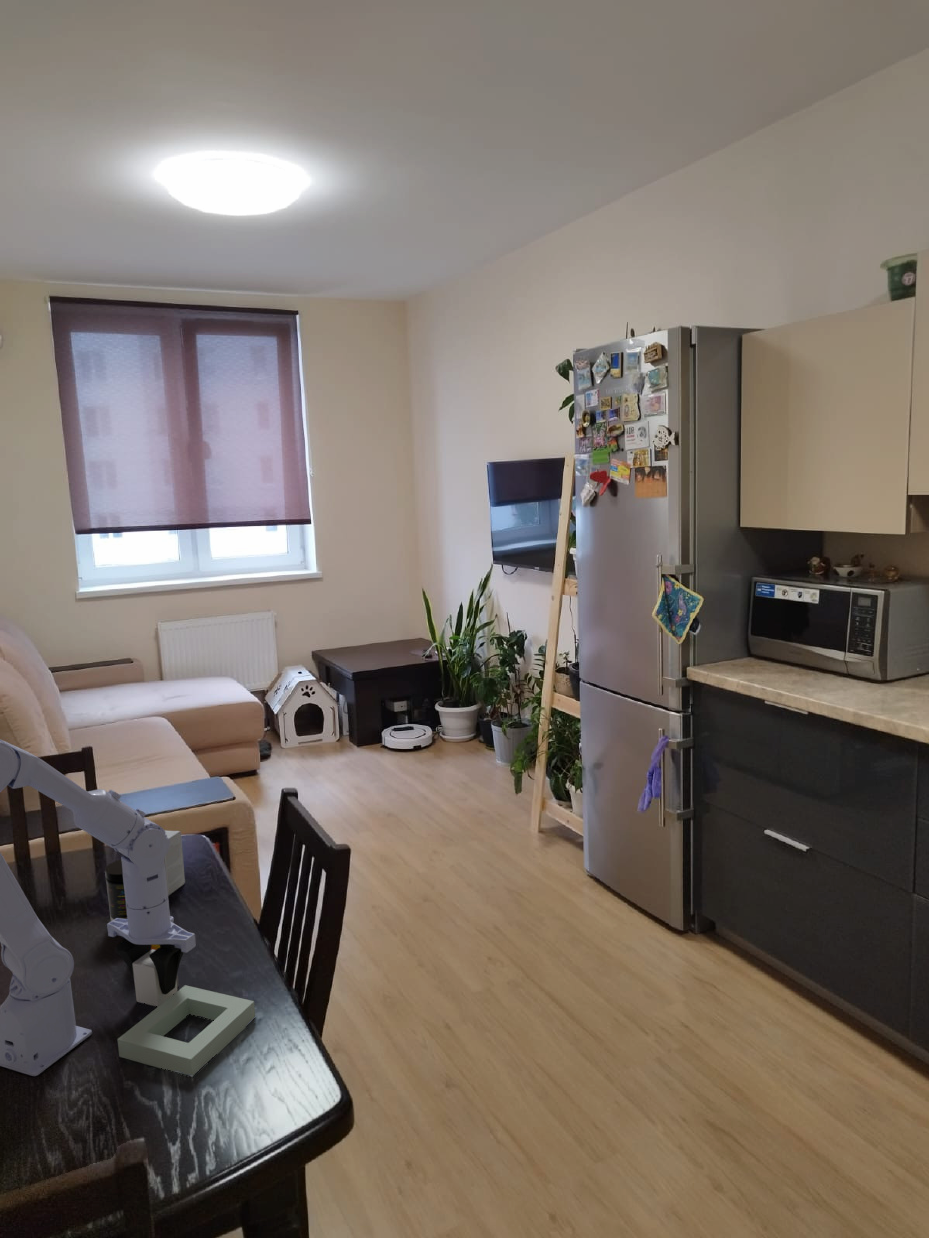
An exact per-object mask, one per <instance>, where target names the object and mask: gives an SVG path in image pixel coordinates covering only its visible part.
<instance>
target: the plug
mask: <svg viewBox="0 0 929 1238" xmlns="http://www.w3.org/2000/svg"><path fill="white" fill-rule="evenodd" d="M154 951H155V950H154V949H152V950H150V951H149V952H148V953H146V954H145V955H143V956H142V957H141V958H139V959H138V960H136V961H135V962H133V963H132V964H133V973H134V978H133V980H134V982H133V983H134V990H135V997H136V1002H138V1003H140V1004H144V1003H145V1005H149V1006H151V1007H152V1006H153V1007H156V1006H157V1007H158V1006H160V1005H161V1004H162V1003H164V1002H165V1001H166V1000H167V999H169V998H170V997H171V996H172V995H173V994H175V993H176V992H177V991H178V987H180V983H179V974H178V972H177V978H176V984H175V988H174V989H173V990H171V991H170V992H169V993H167V994H166V995H165V994H162V992H161V989H160V985H159V979H158V974H157V970H156V968H155V965H154V963H153V961H152V960H151V958H150V956H149V955H150V954H151V953H152V952H154ZM157 1007H156V1008H157Z"/></svg>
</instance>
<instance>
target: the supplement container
mask: <svg viewBox="0 0 929 1238" xmlns="http://www.w3.org/2000/svg"><path fill="white" fill-rule="evenodd" d="M104 873H105V874H104V875H105V881H106V890H107V891H106V892H107V900H108V906H109V907H108V908H109V916H110V922H111V921H113V920H114V919H116V918H121V919H127V909H126V900H125V891H124V882H123V870H122V861H121V858H120V859H117V860H114V861H113V862H110V863H109V864H107V866H106V867H105V868H104Z"/></svg>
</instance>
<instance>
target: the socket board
mask: <svg viewBox="0 0 929 1238" xmlns="http://www.w3.org/2000/svg"><path fill="white" fill-rule="evenodd" d="M189 1014H191V1015H190V1016H193V1015H195V1016H194V1017H197V1016H203V1017H205V1018H208V1019H207V1020H209V1019H211V1020H210V1021H212V1022H211V1023H209V1024H208V1025H207V1026H206V1027H205V1028H204V1029H203V1030H202V1031H201V1032H199V1033H198V1034H196V1036H195V1037H193V1038H192V1039H191V1040H190V1041H189V1042H186V1041H182V1040H178V1039H174V1038H171V1037H167V1036H165V1035H166V1034H168V1033H169V1032H170V1031H171V1030H173V1028H175V1027H176V1026H177V1025H178V1024H180V1023H181V1022H182V1021H183V1020H184V1019H186V1018H187V1017H188V1016H189ZM187 1015H188V1016H187ZM186 1016H187V1017H186ZM255 1016H256V1006H255V1001H254V1000H250V999H246V998H241V997H238V996H234V995H230V994H229V995H228V994H224V993H220V992H216V991H211V990H208V989H207V990H206V989H203V988H199V987H195V986H190V985H186V984H185V985H183V986H182V987H181V988H180V989H179V990H177V992H176V993H175V994H174V995H172V996H171V997H170V998H169V999H167V1000H166V1001H165V1002H164V1003H162V1004H161V1005H160V1006H158V1007H156V1008H155V1009H154V1010H152V1011H151V1012H149V1014H147V1015H145V1017H144V1018H142V1019H141V1020H140V1021H139V1022H137V1023H136V1024H134V1026H132V1027H131V1028H130V1029H129V1030H127V1031H126V1032H125V1033H123V1034H122V1035H120V1037H118V1038H117V1040H116V1041H117V1047H118V1056H119V1057H120V1058H123V1059H126V1060H130V1061H133V1062H137V1063H140V1064H144V1065H147V1066H151V1067H155V1068H158V1069H161V1068H162V1069H161V1070H165V1069H166V1070H165V1071H168V1070H171V1071H170V1072H172V1071H179V1072H181V1073H182V1072H183V1073H184V1074H189V1075H194V1074H195V1073H196V1072H197V1071H199V1069H200V1068H201V1067H202V1066H203V1065H204V1064H206V1063H207V1062H208V1061H209V1060H210V1059H211V1058H212V1057H214V1056H215V1055H216V1054H217V1055H218V1054H219V1053H221V1051H222V1050H224V1048H225V1047H227V1046H228V1045H229V1044H230V1043H231V1042H232V1041H233V1040H234V1039H235V1038H236V1037H237V1036H238V1035H239V1034H240V1033H241V1032H243V1031H244V1030H245V1028H246V1027H245V1026H247V1024H248V1023H249V1022H250V1021H251V1020H253V1018H254V1017H255ZM205 1018H204V1019H205ZM213 1020H214V1021H213ZM253 1021H254V1020H253ZM217 1055H216V1056H217ZM216 1056H215V1057H216ZM215 1057H214V1058H215ZM207 1064H208V1063H207ZM207 1064H206V1065H207ZM167 1069H168V1070H167ZM199 1072H200V1071H199Z"/></svg>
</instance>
